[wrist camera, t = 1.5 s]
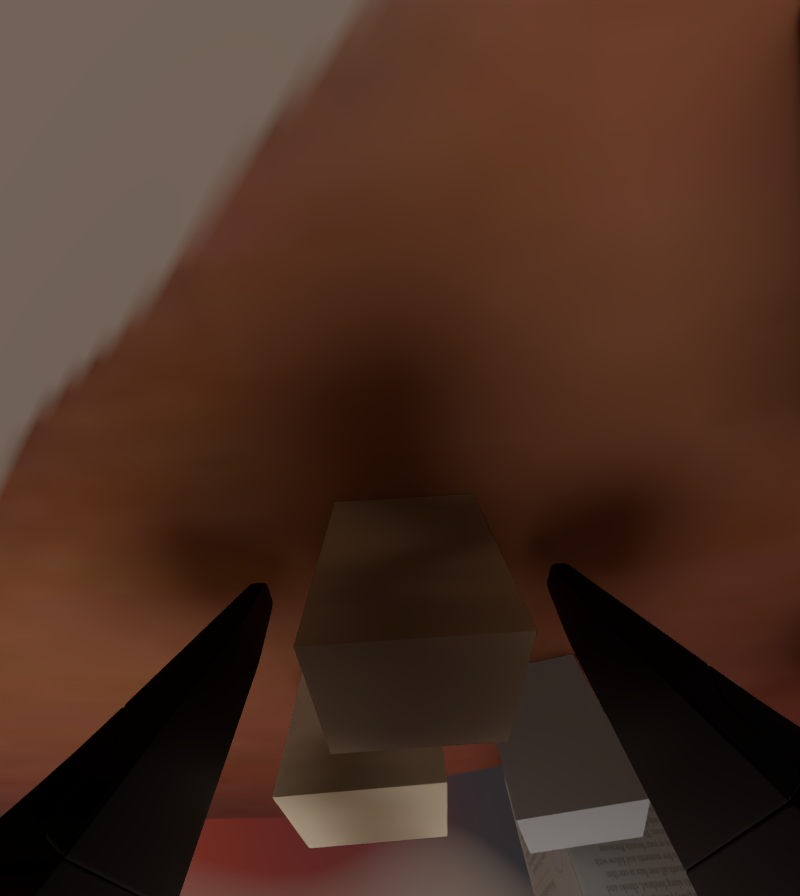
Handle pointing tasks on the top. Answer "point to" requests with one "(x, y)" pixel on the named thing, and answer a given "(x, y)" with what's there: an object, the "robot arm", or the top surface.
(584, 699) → the grey cube
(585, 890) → the small box
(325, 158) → the top surface
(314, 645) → the walnut cube
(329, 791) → the maple block
